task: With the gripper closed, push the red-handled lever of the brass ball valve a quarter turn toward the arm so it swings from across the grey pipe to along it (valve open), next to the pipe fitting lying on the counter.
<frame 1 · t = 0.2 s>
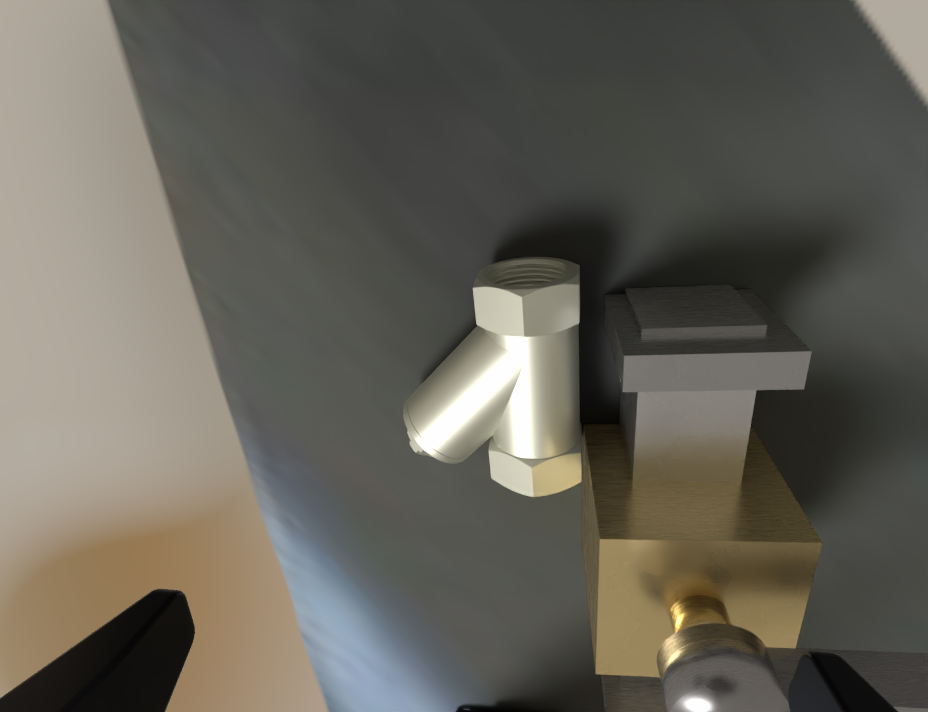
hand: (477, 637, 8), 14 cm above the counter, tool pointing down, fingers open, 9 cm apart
pipe fitting: (491, 353, 23), on the counter
valve: (659, 487, 24), on the counter
lever: (899, 697, 16), point 9 cm above the counter, hinge at 0.0°
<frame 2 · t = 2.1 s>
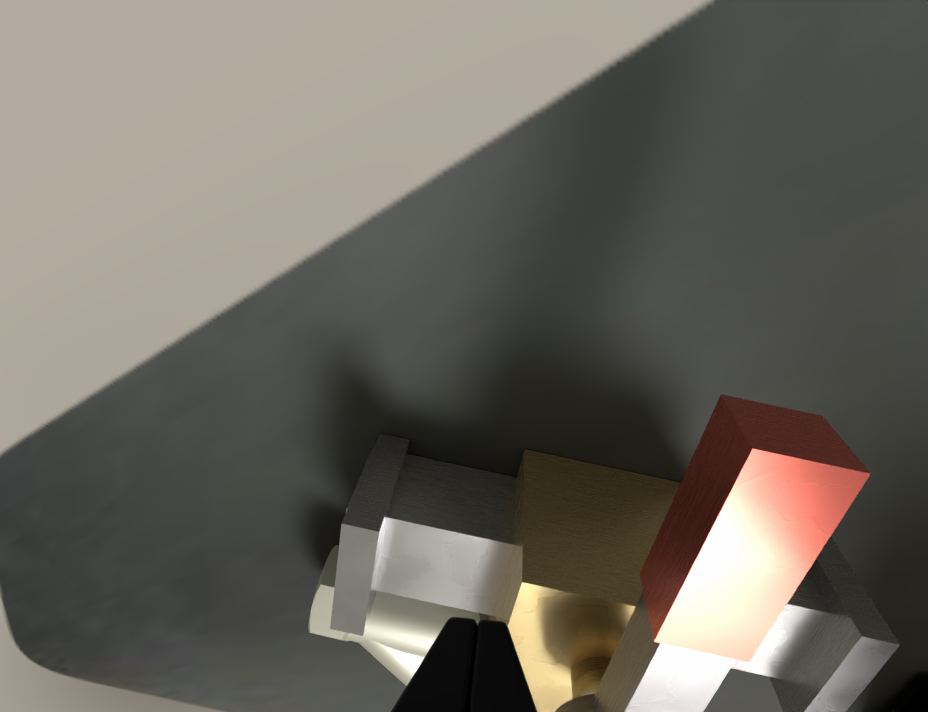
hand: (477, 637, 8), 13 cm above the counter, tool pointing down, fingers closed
pipe fitting: (418, 595, 27), on the counter
valve: (583, 528, 23), on the counter
lever: (670, 652, 13), point 9 cm above the counter, hinge at 0.0°
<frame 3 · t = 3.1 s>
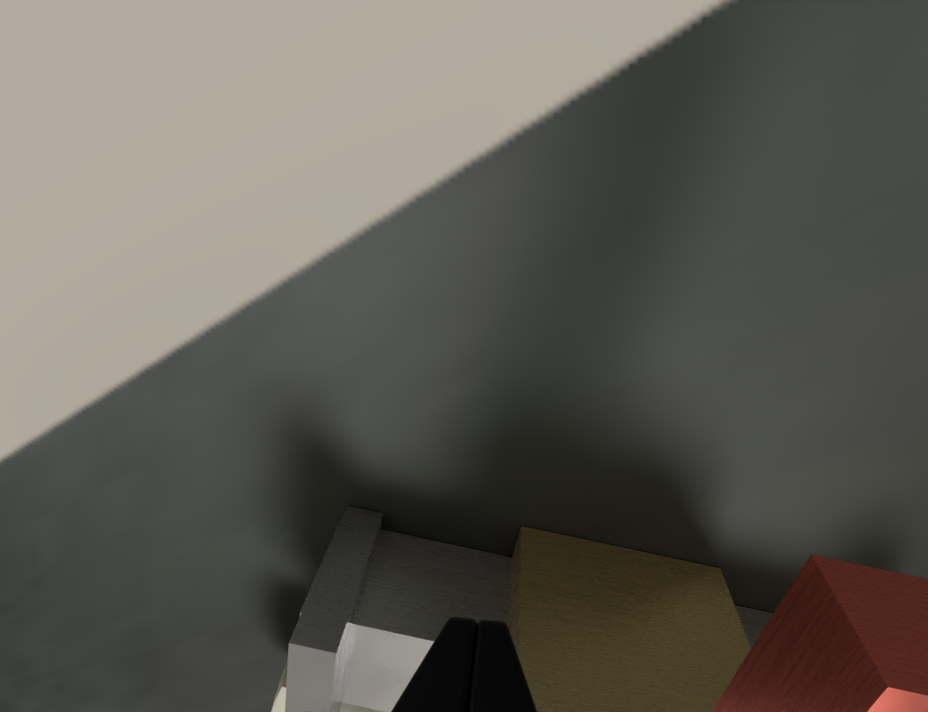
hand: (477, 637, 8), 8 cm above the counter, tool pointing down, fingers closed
pipe fitting: (401, 679, 23), on the counter
valve: (592, 614, 20), on the counter
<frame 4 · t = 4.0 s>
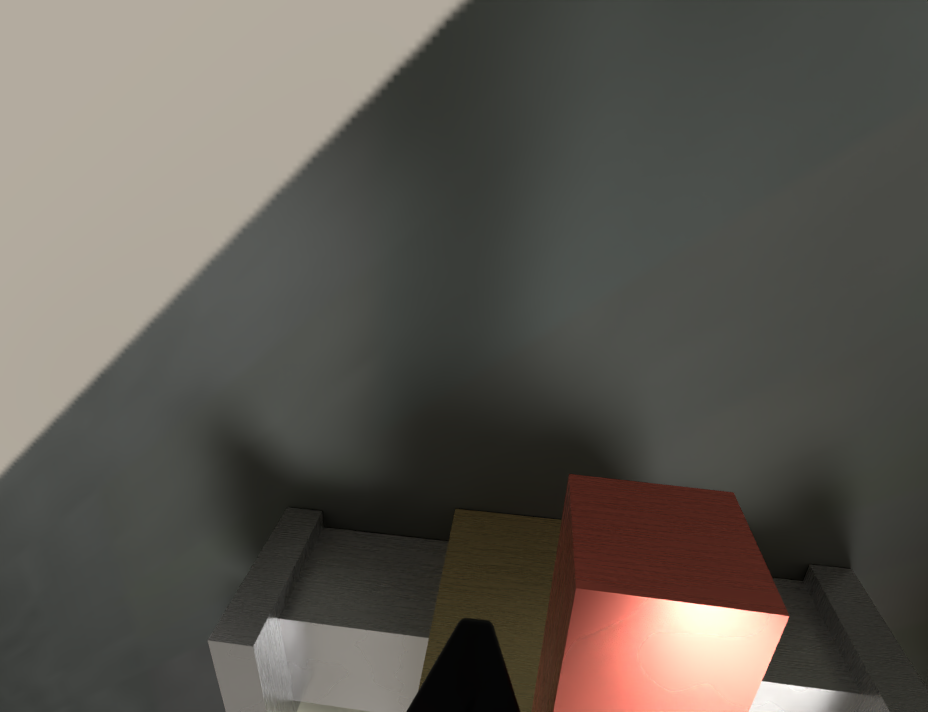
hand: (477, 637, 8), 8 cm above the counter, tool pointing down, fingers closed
pipe fitting: (386, 679, 23), on the counter
valve: (548, 593, 19), on the counter
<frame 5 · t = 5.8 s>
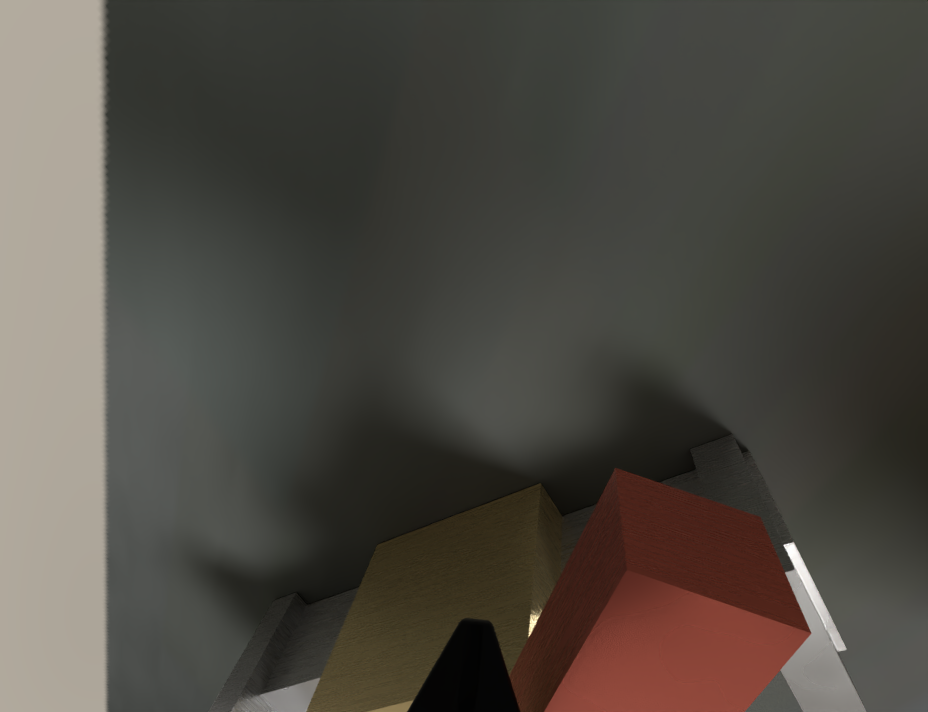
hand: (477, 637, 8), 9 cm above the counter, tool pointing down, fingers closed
valve: (502, 583, 20), on the counter
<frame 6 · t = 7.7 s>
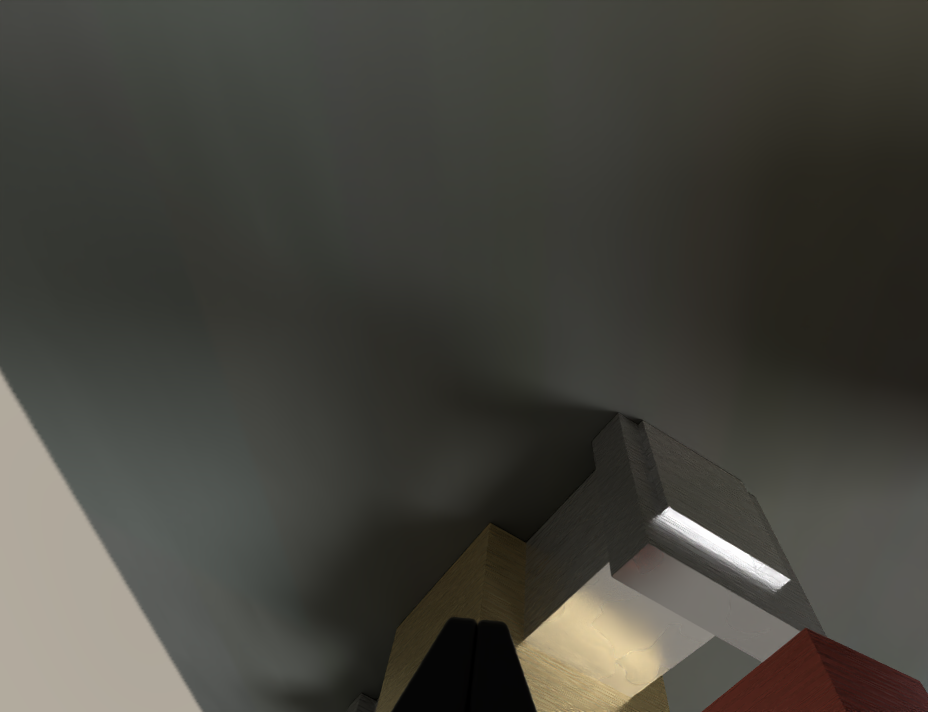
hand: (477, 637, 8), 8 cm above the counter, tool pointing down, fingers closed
valve: (517, 620, 20), on the counter
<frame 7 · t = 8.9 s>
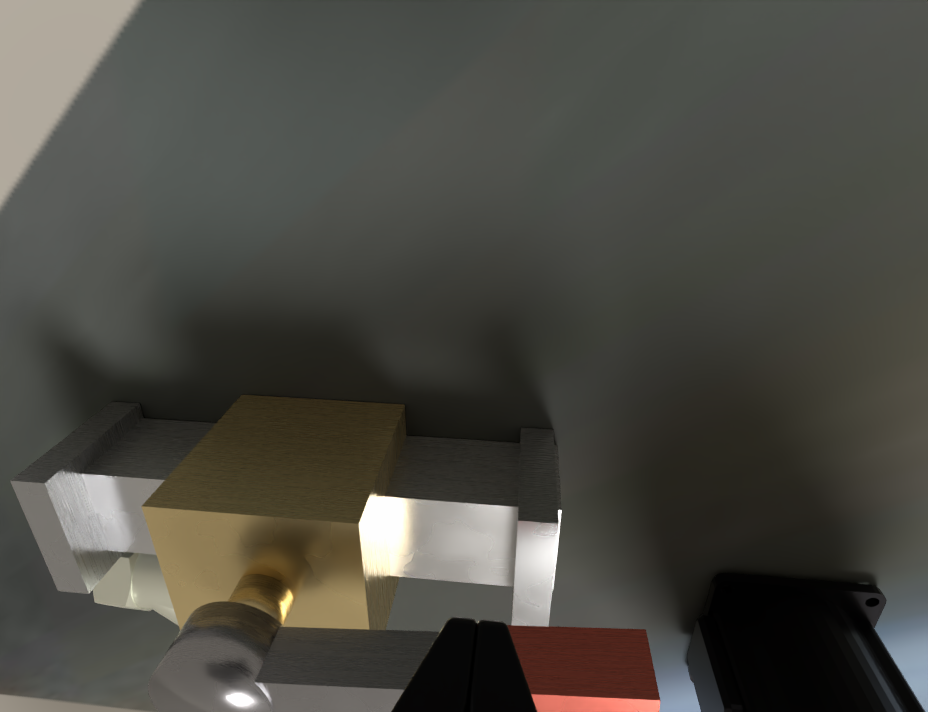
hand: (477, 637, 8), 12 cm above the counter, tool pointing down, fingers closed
pipe fitting: (238, 562, 27), on the counter, touching valve
valve: (330, 467, 23), on the counter
lever: (396, 678, 15), point 9 cm above the counter, hinge at -84.6°
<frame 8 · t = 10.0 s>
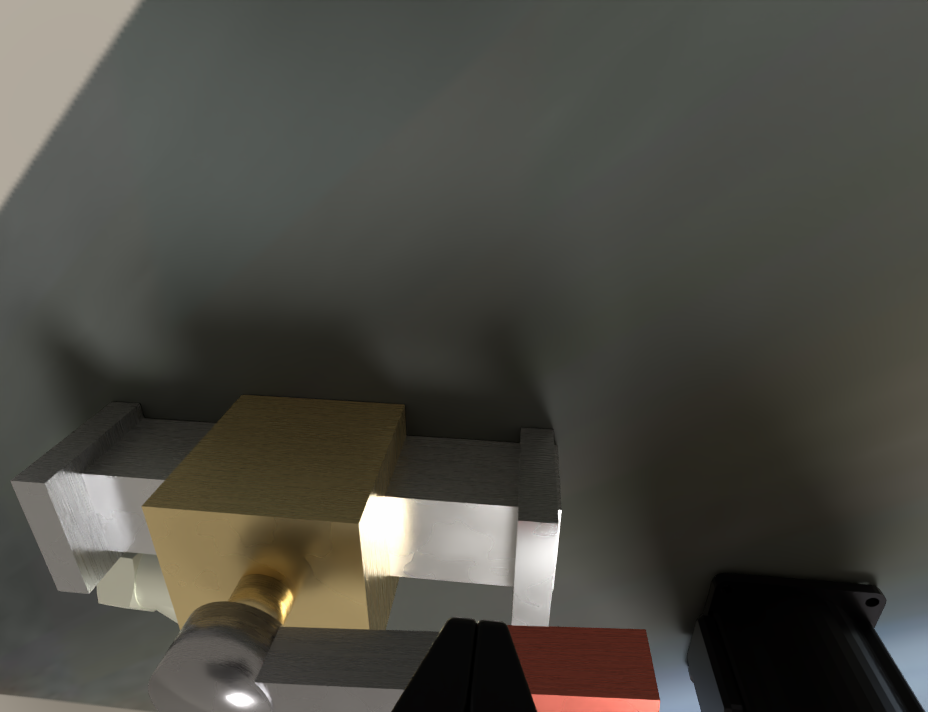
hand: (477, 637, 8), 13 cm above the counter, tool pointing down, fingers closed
pipe fitting: (241, 563, 27), on the counter
valve: (330, 467, 23), on the counter
lever: (396, 678, 15), point 9 cm above the counter, hinge at -84.6°
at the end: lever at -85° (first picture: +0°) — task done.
